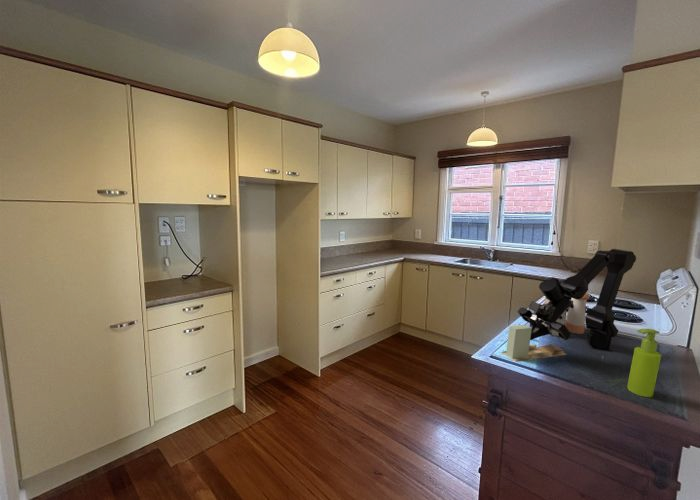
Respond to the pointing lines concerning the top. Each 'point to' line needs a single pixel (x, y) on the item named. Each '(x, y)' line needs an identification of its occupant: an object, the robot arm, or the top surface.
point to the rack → (539, 352)
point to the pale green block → (518, 341)
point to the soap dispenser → (644, 365)
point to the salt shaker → (577, 315)
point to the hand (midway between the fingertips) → (527, 339)
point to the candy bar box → (562, 321)
